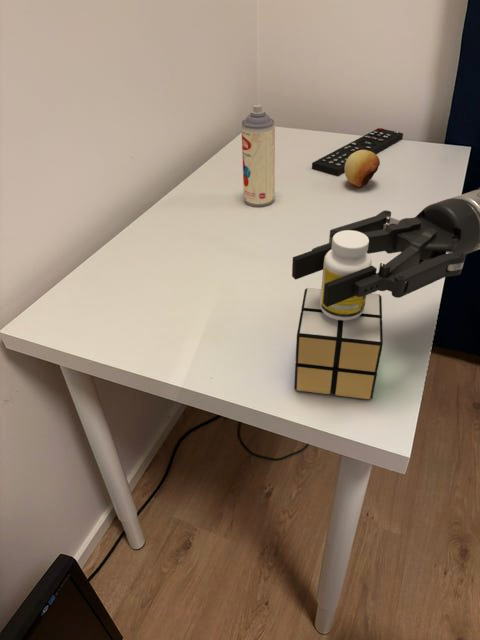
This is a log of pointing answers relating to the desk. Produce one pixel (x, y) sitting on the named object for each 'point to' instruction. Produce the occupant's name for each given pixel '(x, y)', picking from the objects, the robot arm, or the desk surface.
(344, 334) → the puzzle cube
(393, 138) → the remote control
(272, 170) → the aerosol can
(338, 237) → the supplement bottle
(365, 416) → the desk surface
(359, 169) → the fruit
